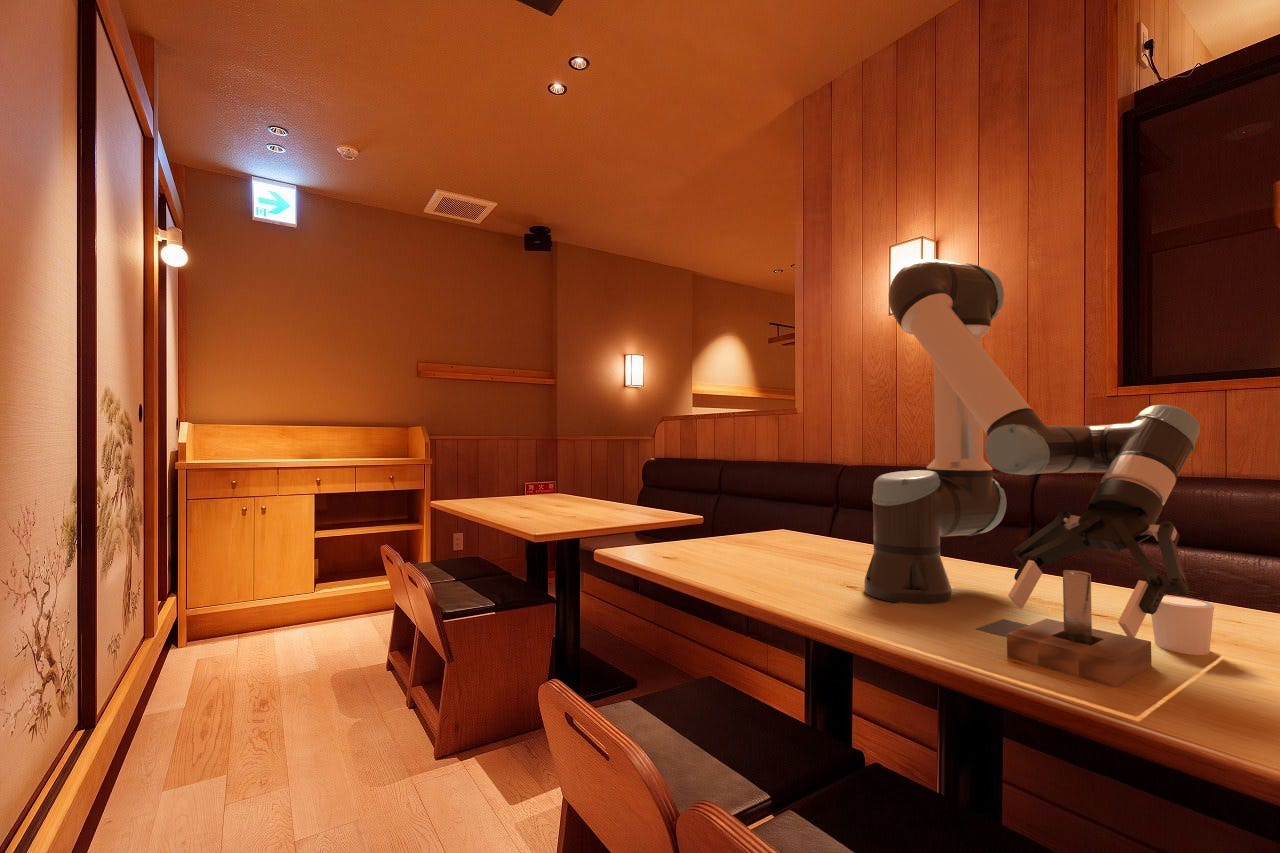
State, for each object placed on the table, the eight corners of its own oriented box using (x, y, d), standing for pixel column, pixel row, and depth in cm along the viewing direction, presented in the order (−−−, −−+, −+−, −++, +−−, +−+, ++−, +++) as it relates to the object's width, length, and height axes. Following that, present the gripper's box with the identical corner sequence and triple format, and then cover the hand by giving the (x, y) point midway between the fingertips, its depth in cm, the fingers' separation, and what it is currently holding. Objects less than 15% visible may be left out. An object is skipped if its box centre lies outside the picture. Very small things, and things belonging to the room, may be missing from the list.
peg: (1060, 663, 79) (1058, 572, 79) (1069, 658, 81) (1068, 569, 81) (1086, 670, 77) (1085, 576, 77) (1096, 665, 78) (1094, 573, 79)
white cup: (1193, 661, 80) (1191, 608, 80) (1137, 644, 86) (1136, 596, 86) (1228, 656, 81) (1227, 604, 82) (1171, 640, 88) (1170, 592, 88)
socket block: (1007, 659, 80) (1006, 633, 80) (1047, 642, 87) (1046, 618, 87) (1116, 690, 70) (1115, 660, 70) (1151, 668, 77) (1151, 641, 77)
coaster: (975, 631, 92) (975, 628, 92) (1003, 621, 97) (1003, 619, 97) (1040, 648, 85) (1040, 645, 85) (1067, 636, 90) (1067, 633, 90)
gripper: (1259, 524, 74) (1198, 665, 68) (1051, 504, 97) (990, 608, 90) (1237, 482, 72) (1171, 624, 65) (1029, 472, 95) (965, 576, 88)
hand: (1066, 615), depth 78 cm, fingers open, 13 cm apart
